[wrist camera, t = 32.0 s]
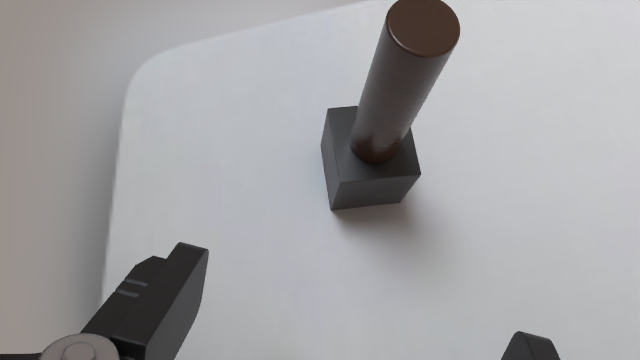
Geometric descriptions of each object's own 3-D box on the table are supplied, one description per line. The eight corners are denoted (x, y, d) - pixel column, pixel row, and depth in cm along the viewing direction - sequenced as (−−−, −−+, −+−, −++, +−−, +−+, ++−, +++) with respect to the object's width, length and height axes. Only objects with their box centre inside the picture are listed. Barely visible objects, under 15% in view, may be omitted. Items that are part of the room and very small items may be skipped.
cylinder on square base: (330, 210, 25) (374, 82, 13) (320, 145, 26) (353, -23, 15) (400, 202, 25) (499, 72, 14) (387, 138, 26) (467, -29, 15)
